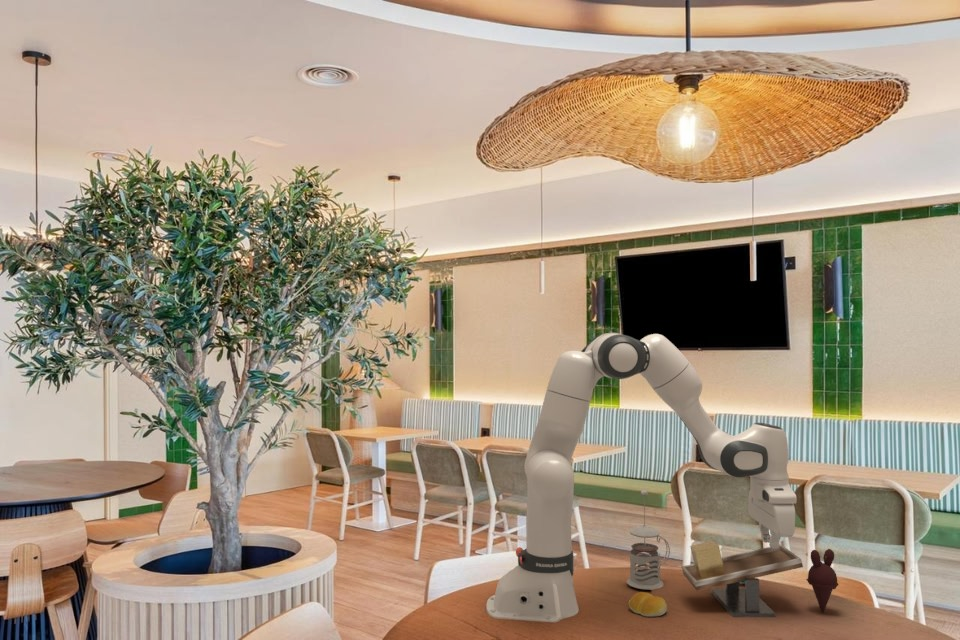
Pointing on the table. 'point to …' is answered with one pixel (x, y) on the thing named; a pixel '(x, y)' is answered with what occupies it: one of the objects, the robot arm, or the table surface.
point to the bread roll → (647, 604)
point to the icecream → (822, 577)
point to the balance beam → (746, 567)
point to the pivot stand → (743, 600)
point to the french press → (645, 558)
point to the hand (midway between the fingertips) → (770, 544)
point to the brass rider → (707, 559)
